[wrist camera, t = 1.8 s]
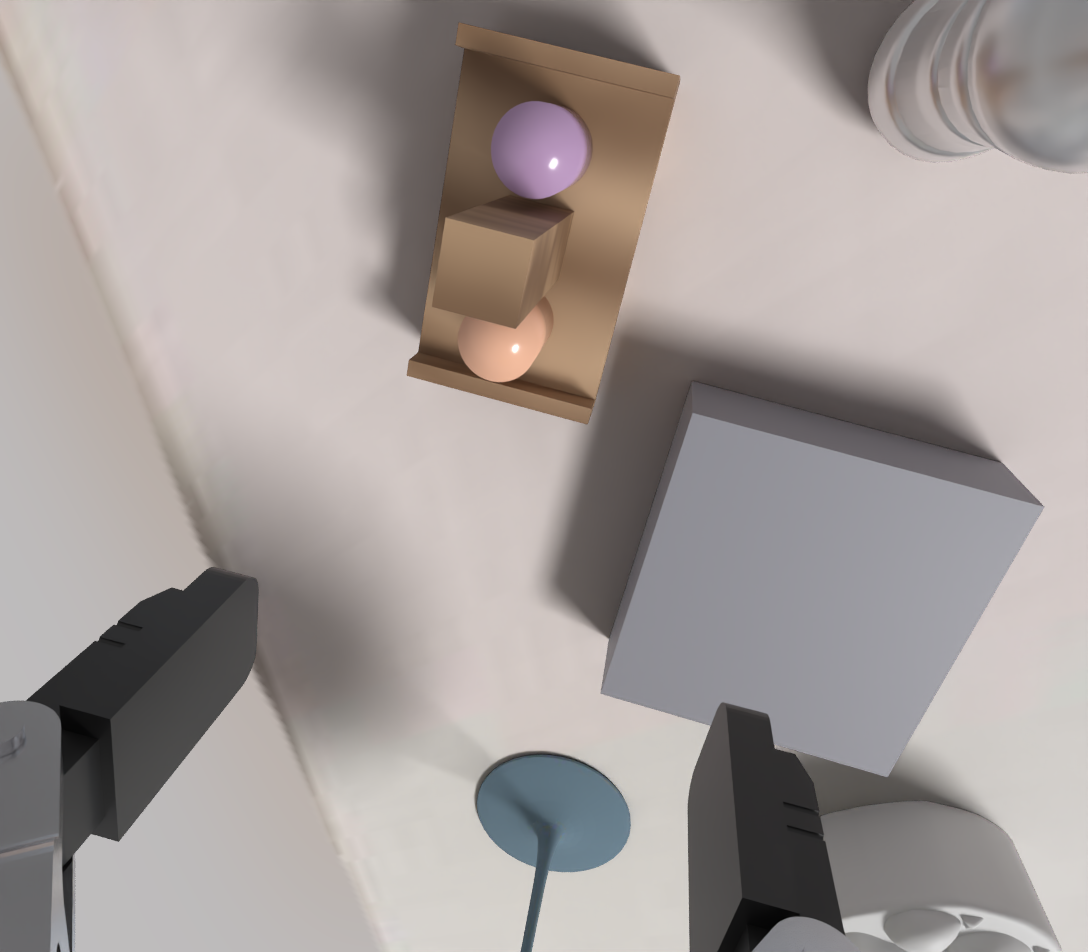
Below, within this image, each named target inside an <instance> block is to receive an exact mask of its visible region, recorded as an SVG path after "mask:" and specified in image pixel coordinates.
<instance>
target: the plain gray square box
mask: <svg viewBox="0 0 1088 952" xmlns="http://www.w3.org/2000/svg"><path fill="white" fill-rule="evenodd" d="M1043 508H1044V506H1043V505H1042V504H1041V503H1040V502H1039V501H1038V500H1037V499H1036V498H1035V497H1034V496H1033V494H1032V493H1031V492H1030V491H1029V490H1028V489H1027V488H1026V487H1025V486H1024V485H1023V484H1022V483H1021V482H1020V481H1019V480H1018V479H1017V478H1016V477H1015V476H1014V475H1013V473H1012V472H1011V471H1010V470H1009V469H1008V468H1007V467H1006V466H1005V465H1004V464H1003V463H1001V462H997V461H993V460H989V459H986V458H982V457H978V456H974V455H970V454H967V453H963V452H959V451H955V450H952V449H948V448H944V447H940V446H936V445H933V444H929V443H925V442H921V441H918V440H914V439H910V438H906V437H902V436H899V435H895V434H891V433H887V432H884V431H880V430H876V429H872V428H868V427H865V426H861V425H857V424H853V423H850V422H846V421H842V420H838V419H834V418H831V417H827V416H823V415H819V414H816V413H812V412H808V411H804V410H800V409H797V408H793V407H789V406H785V405H782V404H778V403H774V402H770V401H766V400H763V399H759V398H755V397H751V396H748V395H744V394H740V393H736V392H733V391H729V390H725V389H721V388H717V387H714V386H710V385H706V384H702V383H699V382H695V381H692V382H691V385H690V388H689V392H688V395H687V398H686V401H685V404H684V407H683V410H682V413H681V417H680V420H679V423H678V426H677V429H676V432H675V435H674V438H673V441H672V445H671V448H670V451H669V454H668V457H667V460H666V463H665V466H664V469H663V473H662V476H661V479H660V482H659V485H658V488H657V491H656V494H655V498H654V501H653V504H652V507H651V510H650V513H649V516H648V519H647V522H646V526H645V529H644V532H643V535H642V538H641V541H640V544H639V547H638V551H637V554H636V557H635V560H634V563H633V566H632V569H631V572H630V575H629V579H628V582H627V585H626V588H625V591H624V594H623V597H622V600H621V603H620V607H619V610H618V613H617V616H616V619H615V622H614V625H613V628H612V632H611V635H610V638H609V642H608V649H607V655H606V662H605V669H604V675H603V682H602V688H601V694H604V695H607V696H610V697H614V698H617V699H621V700H624V701H628V702H631V703H634V704H638V705H641V706H645V707H648V708H652V709H655V710H658V711H662V712H665V713H669V714H672V715H676V716H679V717H682V718H686V719H689V720H693V721H696V722H700V723H703V724H706V725H710V726H711V724H712V721H713V719H714V716H715V713H716V711H717V709H718V707H719V705H720V704H721V703H722V702H725V703H728V704H732V705H736V706H740V707H744V708H747V709H751V710H755V711H759V712H763V713H766V714H768V716H769V718H770V723H771V729H772V735H773V742H774V744H775V745H778V746H782V747H785V748H789V749H792V750H795V751H799V752H802V753H806V754H809V755H813V756H816V757H819V758H823V759H826V760H830V761H833V762H837V763H840V764H843V765H847V766H850V767H854V768H857V769H861V770H864V771H867V772H871V773H874V774H878V775H881V776H885V777H888V776H889V774H890V772H891V771H892V769H893V767H894V765H895V764H896V762H897V760H898V758H899V757H900V755H901V753H902V752H903V750H904V748H905V746H906V745H907V743H908V741H909V740H910V738H911V736H912V734H913V733H914V731H915V729H916V727H917V726H918V724H919V722H920V721H921V719H922V717H923V715H924V714H925V712H926V710H927V708H928V707H929V705H930V703H931V702H932V700H933V698H934V696H935V695H936V693H937V691H938V689H939V688H940V686H941V684H942V683H943V681H944V679H945V677H946V676H947V674H948V672H949V671H950V669H951V667H952V665H953V664H954V662H955V660H956V658H957V657H958V655H959V653H960V652H961V650H962V648H963V646H964V645H965V643H966V641H967V639H968V638H969V636H970V634H971V633H972V631H973V629H974V627H975V626H976V624H977V622H978V621H979V619H980V617H981V615H982V614H983V612H984V610H985V608H986V607H987V605H988V603H989V602H990V600H991V598H992V596H993V595H994V593H995V591H996V589H997V588H998V586H999V584H1000V583H1001V581H1002V579H1003V577H1004V576H1005V574H1006V572H1007V571H1008V569H1009V567H1010V565H1011V564H1012V562H1013V560H1014V558H1015V557H1016V555H1017V553H1018V552H1019V550H1020V548H1021V546H1022V545H1023V543H1024V541H1025V539H1026V538H1027V536H1028V534H1029V533H1030V531H1031V529H1032V527H1033V526H1034V524H1035V522H1036V521H1037V519H1038V517H1039V515H1040V514H1041V512H1042V510H1043Z"/></svg>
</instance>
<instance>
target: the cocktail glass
mask: <svg viewBox="0 0 1088 952" xmlns="http://www.w3.org/2000/svg"><path fill="white" fill-rule="evenodd" d="M477 809H478V815H479V818H480V821H481V823H482V826H483V828H484V830H485V831H486V832H487V834H488V835H489V837H490V838H491V839H492V840H493V841H494V842H495V843H496V844H497V845H498V846H499V847H500V848H501V849H502V850H504V851H505V852H506V853H507V854H509V855H511V856H512V857H514V858H516V859H517V860H519V861H521V862H524V863H526V864H528V865H531V866H534V867H536V871H535V878H534V884H533V889H532V895H531V900H530V906H529V911H528V916H527V921H526V927H525V932H524V937H523V943H522V948H521V952H532V947H533V942H534V937H535V932H536V927H537V922H538V917H539V912H540V907H541V902H542V898H543V893H544V888H545V883H546V879H547V875H548V871H557V872H577V871H585V870H589V869H592V868H596V867H598V866H600V865H603V864H605V863H607V862H608V861H610V860H611V859H613V858H614V857H615V856H616V855H617V854H618V853H619V852H620V851H621V850H622V848H623V847H624V845H625V844H626V842H627V839H628V837H629V833H630V826H631V824H630V813H629V810H628V806H627V804H626V802H625V800H624V798H623V796H622V795H621V793H620V792H619V791H618V789H617V788H616V787H615V786H614V785H613V784H612V783H611V782H610V781H609V780H608V779H607V778H606V777H604V776H603V775H602V774H600V773H599V772H598V771H596V770H594V769H592V768H591V767H589V766H587V765H585V764H583V763H580V762H578V761H575V760H572V759H568V758H564V757H560V756H553V755H529V756H523V757H519V758H515V759H512V760H510V761H507V762H505V763H503V764H501V765H500V766H498V767H497V768H495V769H494V770H493V771H492V772H491V773H490V774H489V775H488V776H487V777H486V778H485V780H484V782H483V783H482V785H481V788H480V790H479V793H478V799H477Z"/></svg>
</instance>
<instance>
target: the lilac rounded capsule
mask: <svg viewBox="0 0 1088 952" xmlns="http://www.w3.org/2000/svg"><path fill="white" fill-rule="evenodd" d="M592 152H593V144H592V137H591V133H590V131H589V128H588V126H587V124H586V123H585V121H584V120H583V119H582V118H581V116H580V115H578V114H577V113H576V112H575V111H573V110H572V109H570V108H567V107H565V106H561V105H556V104H551V103H546V102H540V101H530V102H525V103H521V104H519V105H517V106H515V107H513V108H512V109H510V110H509V111H508V112H507V113H506V114H505V115H504V116H503V117H502V118H501V120H500V121H499V123H498V124H497V126H496V128H495V131H494V134H493V137H492V143H491V157H492V162H493V166H494V169H495V171H496V173H497V175H498V177H499V178H500V180H501V181H502V183H503V184H504V185H505V186H506V187H507V188H508V189H509V190H511V191H512V192H514V193H515V194H517V195H519V196H522V197H525V198H530V199H542V198H546V197H550V196H552V195H554V194H556V193H558V192H560V191H562V190H564V189H567V188H569V187H570V186H572V185H574V184H575V183H576V182H578V181H579V180H580V179H581V178H582V177H583V175H584V174H585V173H586V171H587V169H588V167H589V165H590V162H591V158H592Z"/></svg>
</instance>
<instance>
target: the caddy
mask: <svg viewBox="0 0 1088 952" xmlns="http://www.w3.org/2000/svg"><path fill="white" fill-rule="evenodd" d="M455 45H457V46H459V47H462V48H464V55H463V61H462V68H461V74H460V81H459V88H458V94H457V101H456V107H455V114H454V120H453V127H452V134H451V140H450V147H449V153H448V160H447V166H446V173H445V180H444V186H443V193H442V199H441V206H440V213H439V219H438V226H437V232H436V239H435V245H434V252H433V259H432V265H431V272H430V278H429V285H428V291H427V298H426V305H425V311H424V318H423V324H422V331H421V338H420V344H419V351H418V353H417V354H416V355H414V356H413V357H412V358H411V359H410V360H409V363H408V370H407V376H410V377H414V378H418V379H421V380H425V381H429V382H432V383H436V384H440V385H443V386H447V387H451V388H454V389H458V390H462V391H466V392H469V393H473V394H477V395H480V396H484V397H488V398H491V399H495V400H499V401H503V402H506V403H510V404H514V405H517V406H521V407H525V408H528V409H532V410H536V411H539V412H543V413H547V414H551V415H554V416H558V417H562V418H565V419H569V420H573V421H576V422H580V423H584V424H588V422H589V419H590V416H591V413H592V410H593V407H594V404H595V400H596V396H597V392H598V388H599V385H600V381H601V377H602V373H603V370H604V366H605V362H606V358H607V355H608V351H609V347H610V343H611V340H612V336H613V332H614V328H615V324H616V321H617V317H618V313H619V309H620V306H621V302H622V298H623V294H624V291H625V287H626V283H627V279H628V275H629V272H630V268H631V264H632V260H633V257H634V253H635V249H636V245H637V242H638V238H639V234H640V230H641V226H642V223H643V219H644V215H645V211H646V208H647V204H648V200H649V196H650V193H651V189H652V185H653V181H654V177H655V174H656V170H657V166H658V162H659V159H660V155H661V151H662V147H663V144H664V140H665V136H666V132H667V128H668V125H669V121H670V117H671V113H672V110H673V106H674V102H675V98H676V95H677V91H678V87H679V83H680V76H679V75H675V74H671V73H667V72H662V71H658V70H654V69H650V68H646V67H642V66H638V65H633V64H629V63H625V62H621V61H617V60H613V59H608V58H604V57H600V56H596V55H592V54H588V53H584V52H579V51H575V50H571V49H567V48H563V47H559V46H555V45H550V44H546V43H542V42H538V41H534V40H530V39H525V38H521V37H517V36H513V35H509V34H505V33H501V32H496V31H492V30H488V29H484V28H480V27H476V26H471V25H467V24H463V23H459V24H458V30H457V37H456V44H455ZM530 101H540V102H546V103H551V104H556V105H561V106H565V107H567V108H570V109H572V110H573V111H575V112H576V113H577V114H578V115H580V116H581V118H582V119H583V120H584V121H585V123H586V124H587V126H588V128H589V131H590V133H591V137H592V144H593V152H592V158H591V162H590V165H589V167H588V169H587V171H586V173H585V174H584V175H583V177H582V178H581V179H580V180H579V181H578V182H576V183H575V184H574V185H572V186H570V187H569V188H567V189H564V190H562V191H560V192H558V193H556V194H554V195H552V196H550V197H546V198H542V199H530V198H525V197H522V196H519V195H517V194H515V193H514V192H512V191H511V190H509V189H508V188H507V187H506V186H505V185H504V184H503V183H502V181H501V180H500V178H499V177H498V175H497V173H496V171H495V169H494V166H493V162H492V157H491V143H492V137H493V134H494V131H495V128H496V126H497V124H498V123H499V121H500V120H501V118H502V117H503V116H504V115H505V114H506V113H507V112H508V111H509V110H510V109H512V108H513V107H515V106H517V105H519V104H521V103H525V102H530ZM544 296H545V297H546V298H547V300H548V301H549V303H550V305H551V308H552V311H553V318H554V323H553V329H552V333H551V335H550V337H549V339H548V340H547V342H546V343H545V345H544V346H543V348H542V349H541V351H540V352H539V354H538V355H537V357H536V358H535V360H534V362H533V363H532V365H531V366H530V368H529V369H528V370H527V371H526V372H525V373H524V374H523V375H521V376H520V377H518V378H516V379H514V380H511V381H506V382H493V381H489V380H486V379H483V378H481V377H479V376H478V375H476V374H475V373H474V372H473V371H471V370H470V368H469V367H468V366H467V365H466V364H465V362H464V360H463V359H462V357H461V354H460V351H459V347H458V332H459V328H460V326H461V323H462V321H463V320H464V318H465V317H466V316H468V317H472V318H476V319H480V320H483V321H487V322H491V323H495V324H499V325H502V326H506V327H510V328H514V329H516V328H517V327H518V326H519V324H520V323H521V322H522V321H523V320H524V319H525V317H526V316H527V315H528V314H529V313H530V312H531V311H532V309H533V308H534V307H535V306H536V305H537V304H538V302H539V301H540V300H541V299H542V298H543V297H544Z"/></svg>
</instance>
